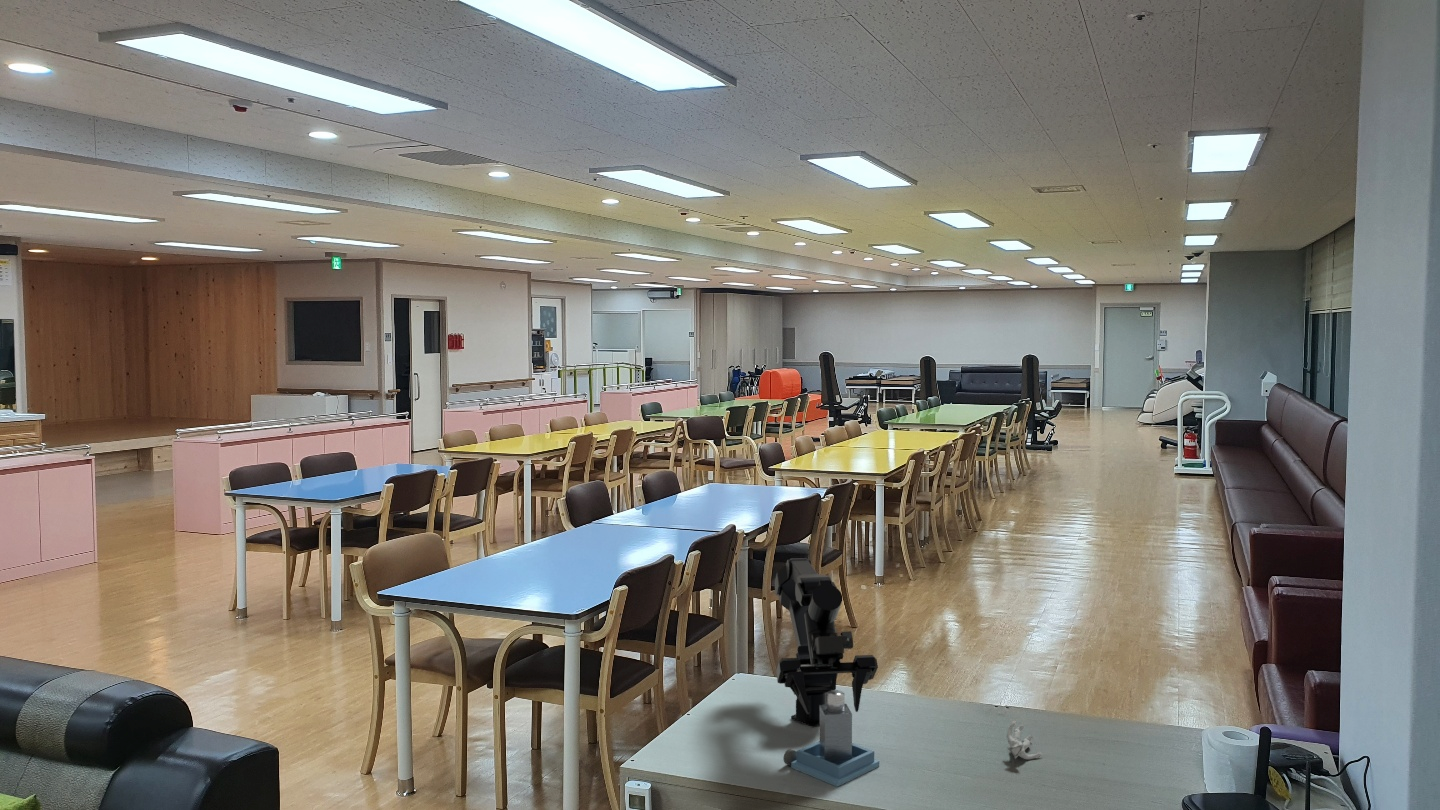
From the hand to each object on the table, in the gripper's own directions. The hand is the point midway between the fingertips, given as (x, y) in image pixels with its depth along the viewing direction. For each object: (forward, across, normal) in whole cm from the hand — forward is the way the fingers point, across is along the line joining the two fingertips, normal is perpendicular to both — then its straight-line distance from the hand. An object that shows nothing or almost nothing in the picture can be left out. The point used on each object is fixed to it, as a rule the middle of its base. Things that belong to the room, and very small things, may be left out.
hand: (832, 712), depth 194 cm
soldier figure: (+7, +36, +7) cm, 37 cm away
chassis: (+8, 0, +5) cm, 10 cm away
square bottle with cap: (+8, 0, +4) cm, 9 cm away
